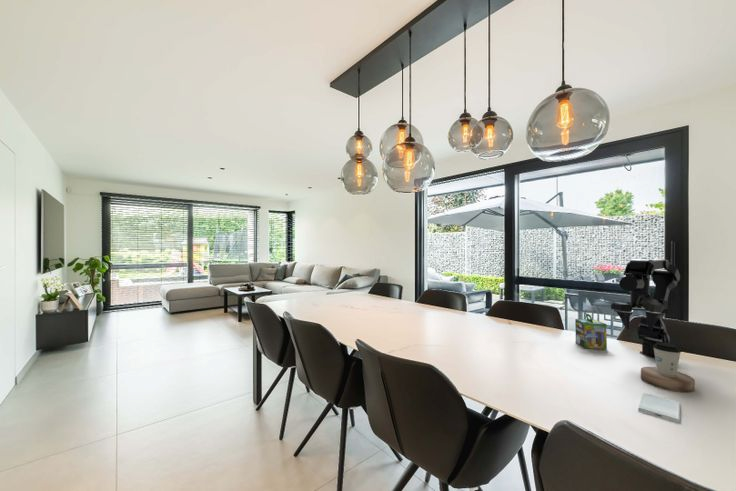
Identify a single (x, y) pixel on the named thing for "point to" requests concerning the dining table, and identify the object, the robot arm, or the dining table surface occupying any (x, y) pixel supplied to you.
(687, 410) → the dining table surface
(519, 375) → the dining table surface
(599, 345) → the chalk box
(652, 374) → the podium
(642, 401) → the hard drive
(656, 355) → the coffee cup
